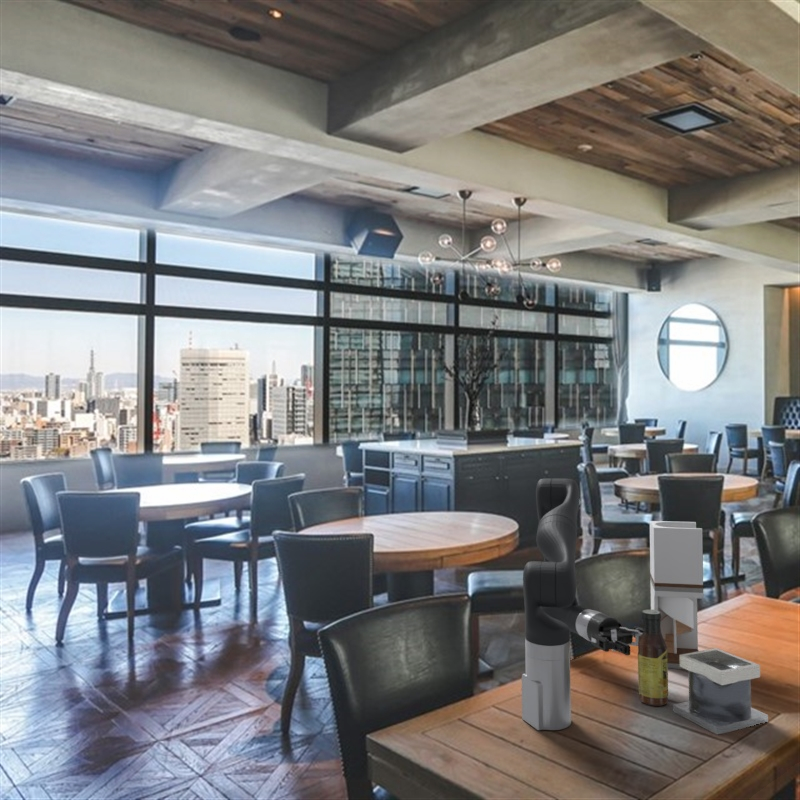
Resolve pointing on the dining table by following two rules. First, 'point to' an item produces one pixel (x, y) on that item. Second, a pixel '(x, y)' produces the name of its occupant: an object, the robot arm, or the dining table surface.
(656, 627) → the sauce bottle
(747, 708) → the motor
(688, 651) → the white tower
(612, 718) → the dining table surface
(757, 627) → the dining table surface
